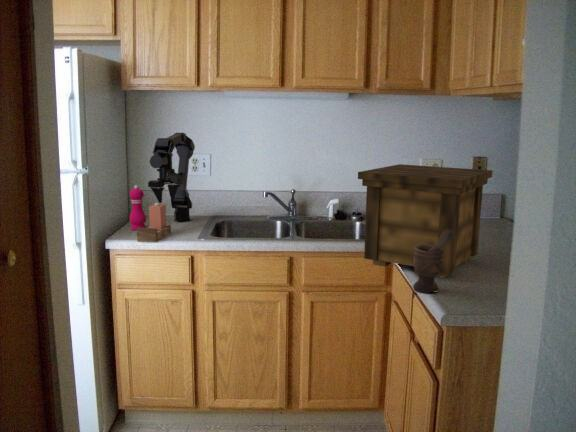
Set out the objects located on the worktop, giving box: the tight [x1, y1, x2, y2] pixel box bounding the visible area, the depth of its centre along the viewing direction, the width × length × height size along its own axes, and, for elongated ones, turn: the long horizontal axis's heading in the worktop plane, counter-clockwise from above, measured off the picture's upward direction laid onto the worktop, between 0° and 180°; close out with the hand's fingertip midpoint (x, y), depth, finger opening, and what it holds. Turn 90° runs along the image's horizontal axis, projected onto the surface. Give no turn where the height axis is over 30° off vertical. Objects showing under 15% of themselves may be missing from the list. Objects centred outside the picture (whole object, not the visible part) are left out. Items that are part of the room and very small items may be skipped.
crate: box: [357, 164, 493, 278], centre depth 183 cm, size 35×35×33 cm
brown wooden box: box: [136, 224, 172, 243], centre depth 220 cm, size 17×8×6 cm, turn 172°
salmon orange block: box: [148, 202, 167, 230], centre depth 223 cm, size 6×5×11 cm
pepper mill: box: [129, 184, 147, 231], centre depth 233 cm, size 7×7×20 cm
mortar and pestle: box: [412, 229, 454, 294], centre depth 154 cm, size 12×9×20 cm
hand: (166, 201), depth 234 cm, fingers open, 9 cm apart
